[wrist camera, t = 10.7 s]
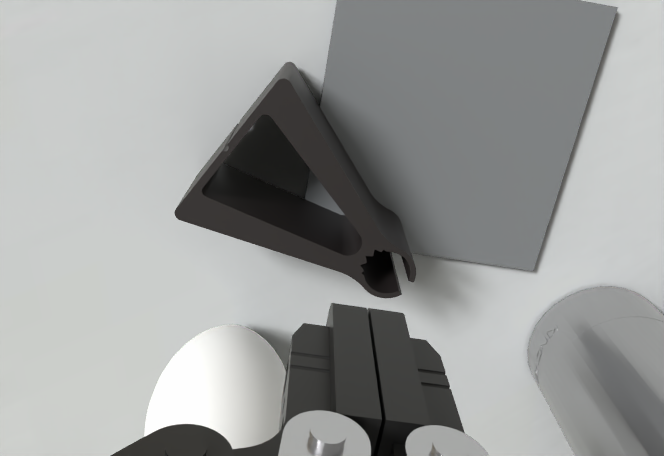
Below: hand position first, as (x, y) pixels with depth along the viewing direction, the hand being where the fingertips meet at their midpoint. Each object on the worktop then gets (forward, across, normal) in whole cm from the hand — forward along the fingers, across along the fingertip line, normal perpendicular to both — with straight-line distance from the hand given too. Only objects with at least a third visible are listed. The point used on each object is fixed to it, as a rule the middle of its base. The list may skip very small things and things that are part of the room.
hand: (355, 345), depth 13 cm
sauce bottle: (+25, +4, +17) cm, 31 cm away
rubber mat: (+25, -7, 0) cm, 26 cm away
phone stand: (+21, +5, +1) cm, 22 cm away
